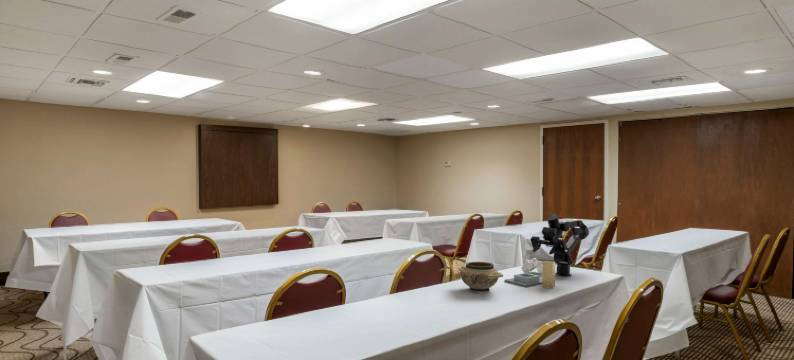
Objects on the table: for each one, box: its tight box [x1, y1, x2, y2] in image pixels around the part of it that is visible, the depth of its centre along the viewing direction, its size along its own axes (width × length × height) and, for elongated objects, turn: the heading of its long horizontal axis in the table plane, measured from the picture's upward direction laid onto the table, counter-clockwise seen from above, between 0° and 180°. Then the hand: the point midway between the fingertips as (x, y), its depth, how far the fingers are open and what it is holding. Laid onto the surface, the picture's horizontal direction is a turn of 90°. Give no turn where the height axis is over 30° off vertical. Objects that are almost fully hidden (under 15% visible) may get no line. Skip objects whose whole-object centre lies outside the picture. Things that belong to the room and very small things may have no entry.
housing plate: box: [504, 272, 542, 288], centre depth 237 cm, size 18×14×4 cm
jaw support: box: [521, 257, 544, 276], centre depth 258 cm, size 12×9×10 cm
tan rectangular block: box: [541, 260, 556, 289], centre depth 227 cm, size 5×5×12 cm
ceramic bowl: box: [457, 261, 504, 294], centre depth 219 cm, size 24×18×15 cm
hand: (541, 252), depth 237 cm, fingers open, 9 cm apart
